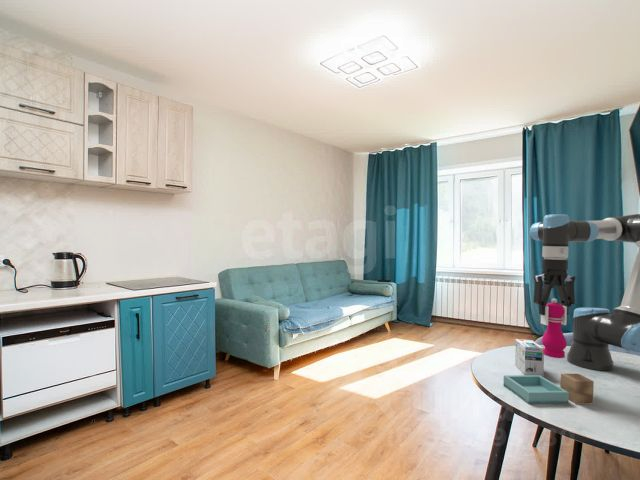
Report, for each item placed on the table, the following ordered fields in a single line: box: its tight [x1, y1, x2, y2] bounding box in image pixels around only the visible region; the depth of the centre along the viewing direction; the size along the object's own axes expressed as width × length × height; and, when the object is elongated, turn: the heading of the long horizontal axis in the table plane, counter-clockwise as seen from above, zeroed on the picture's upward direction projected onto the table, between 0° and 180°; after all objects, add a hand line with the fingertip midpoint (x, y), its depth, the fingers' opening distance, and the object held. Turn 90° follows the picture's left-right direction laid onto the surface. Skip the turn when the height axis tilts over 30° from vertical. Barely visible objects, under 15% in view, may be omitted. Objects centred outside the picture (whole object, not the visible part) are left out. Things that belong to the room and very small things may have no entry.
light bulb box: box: [514, 338, 545, 377], centre depth 134 cm, size 11×7×11 cm, turn 168°
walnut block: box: [559, 373, 595, 405], centre depth 111 cm, size 6×6×7 cm
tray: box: [502, 374, 570, 405], centre depth 113 cm, size 13×13×4 cm
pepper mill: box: [541, 298, 567, 359], centre depth 121 cm, size 7×7×20 cm
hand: (553, 324), depth 121 cm, fingers closed on pepper mill, 6 cm apart
